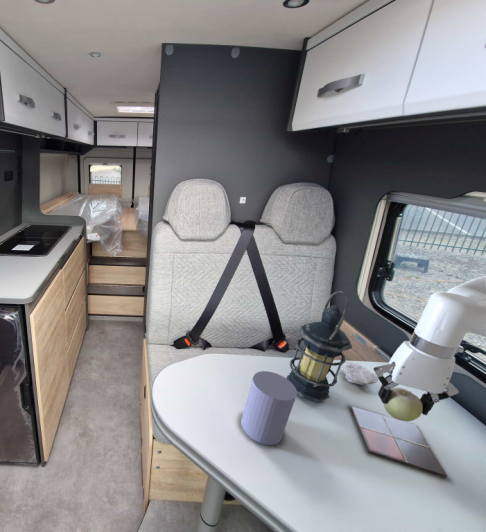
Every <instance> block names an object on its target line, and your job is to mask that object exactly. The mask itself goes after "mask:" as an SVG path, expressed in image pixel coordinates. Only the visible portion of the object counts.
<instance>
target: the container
mask: <svg viewBox="0 0 486 532" xmlns="http://www.w3.org/2000/svg"><path fill="white" fill-rule="evenodd" d="M297 396H298V394H297V391H296V388H295V386H294V385H293V384H292V383H291V382H290V381H289V380H288V379H287V377H284V376H283V375H282V374H279V373H276V372H272V371H269V370H268V371H267V370H261V371H257V372H255V373H254V375H253V377H252V380H251V383H250V386H249V390H248V393H247V398H246V401H245V405H244V409H243V412H242V415H241V420H240V424H241V427H242V429H243V432H244V433H245V434H246V435H247V436H248V437H249V438H250V439H252V440H253V441H254V442H256V443H258V444H261V445H263V446H276V445H278V444H279V443H281V441H282V438H283V435H284V433H285V430H286V428H287V424H288V422H289V418H290V416H291V412H292V410H293V406H294V404H295V402H296V399H297Z"/></svg>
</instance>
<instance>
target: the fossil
mask: <svg viewBox="0 0 486 532" xmlns="http://www.w3.org/2000/svg"><path fill="white" fill-rule="evenodd" d="M341 371H342V372H343V374H344V375H345V379H346V381H347V382H348V383H349V382H350V383H352V384H353V383H354V384H357V385H360V386H366V385H374V384H376V383H378V381H379V379H378V377H377V375H376V373H373V372H371V370H369V369H368V368H366V367H365V366H363V365H361V364H360V363H353V362H345V363H343V364H342V365H341Z"/></svg>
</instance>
